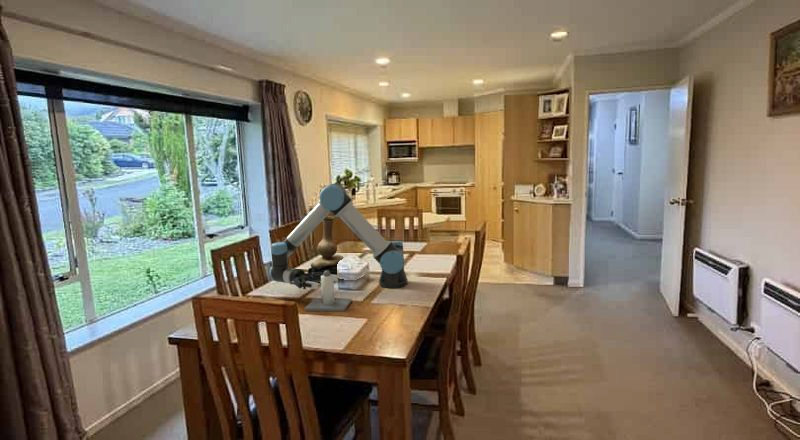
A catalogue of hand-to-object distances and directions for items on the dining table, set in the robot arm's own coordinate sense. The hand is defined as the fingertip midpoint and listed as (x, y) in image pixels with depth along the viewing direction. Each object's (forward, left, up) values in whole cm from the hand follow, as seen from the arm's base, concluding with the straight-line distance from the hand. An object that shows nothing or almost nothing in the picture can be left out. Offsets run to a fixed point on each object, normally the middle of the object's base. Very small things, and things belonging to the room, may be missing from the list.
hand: (328, 282), depth 193 cm
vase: (+17, -47, -12) cm, 51 cm away
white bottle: (0, 0, -10) cm, 10 cm away
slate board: (0, 0, -11) cm, 11 cm away
